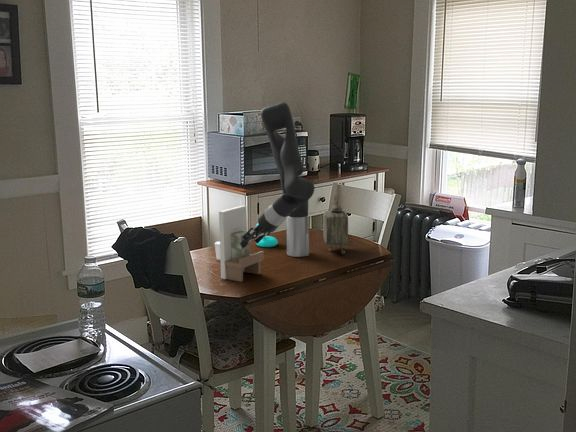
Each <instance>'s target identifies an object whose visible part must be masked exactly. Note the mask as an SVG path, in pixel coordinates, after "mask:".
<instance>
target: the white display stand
mask: <svg viewBox="0 0 576 432" xmlns="http://www.w3.org/2000/svg"><path fill="white" fill-rule="evenodd" d="M218 220H219V221H218V222H219V223H218V224H219V229H218V230H219V241H220V260H219V263H220V279H222V280H230V281H235V282H240V283H241V282H243V281H244V273H249V274H253V275H254V274H255V275H260V274H261V262H262V261H264V260H265V256H264V255H265V251H264V250H261V251H258V252H254V253H250V255H249V256H246V257H244V258H241V259H239V260H234V259H232V246H231V233H235V232H238V231H245V232H248V228H247V227H248V226H247V223H248V221H247V205H238V206H235V207H231V208H227V209H223V210H218Z"/></svg>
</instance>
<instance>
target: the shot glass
mask: <svg viewBox="0 0 576 432" xmlns="http://www.w3.org/2000/svg"><path fill="white" fill-rule="evenodd" d="M214 250H215V256H216V260H217V261H220V240H219V241H218V240H217V241H215V242H214Z"/></svg>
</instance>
